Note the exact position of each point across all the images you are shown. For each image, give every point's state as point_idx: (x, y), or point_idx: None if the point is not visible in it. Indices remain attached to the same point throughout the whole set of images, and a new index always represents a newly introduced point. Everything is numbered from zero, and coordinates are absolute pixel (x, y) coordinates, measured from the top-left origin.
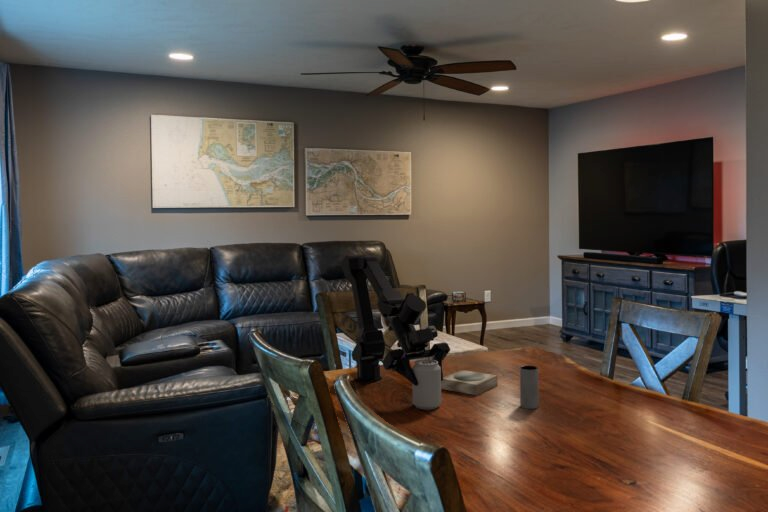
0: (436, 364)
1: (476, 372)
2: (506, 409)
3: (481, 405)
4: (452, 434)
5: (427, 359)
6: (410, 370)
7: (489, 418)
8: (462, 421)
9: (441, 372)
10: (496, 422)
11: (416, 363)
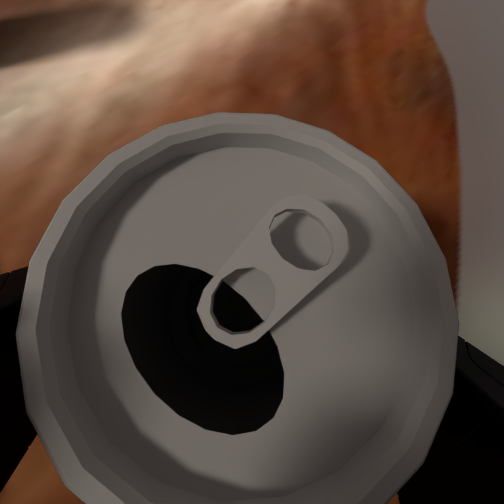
0: (191, 136)
1: None
2: (47, 83)
3: (65, 167)
4: (364, 59)
5: (70, 453)
6: (466, 356)
7: (174, 68)
8: (263, 104)
9: None
10: (189, 37)
11: (456, 331)
